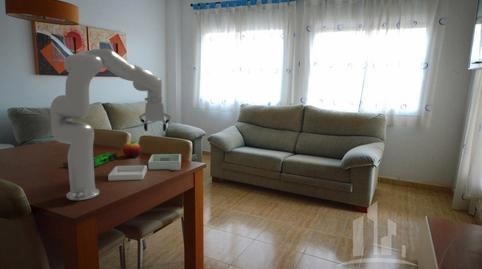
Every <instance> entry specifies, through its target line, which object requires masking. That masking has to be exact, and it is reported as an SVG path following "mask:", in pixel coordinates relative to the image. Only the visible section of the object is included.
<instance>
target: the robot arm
mask: <svg viewBox="0 0 482 269" xmlns="http://www.w3.org/2000/svg"><path fill="white" fill-rule="evenodd" d="M63 65H64V69H65V70H66V72H67V73H68V74H67V77H66V80H65V94H62V95H61V94H60V95H58V96H56V97H55V98H54V99H53V100H52V102H51V103H50V104H51V105H50V122H51V124H50V125H51V134H52V136H53V138H54V140H55V141H57V142H58V143H61V144H67V145H69V149H68V151H67V162H68V167H67V168H68V178H69V188H70V189H69V190H70V191H69V192H67V193H66V199H68V200H70V201H85V200H90V199H93V198H96V197H97V196H99V194H100V190H99V188H96V183H95V182H96V180H95V167H94V161H93V156H94V141H95V131H94V128H93V127H92V126H91V125H90V124H88V123H86V122H82V121H74V119H77V120H81V119H86V118H87V117H88V116H89V114H90V84H91V81H92V79H93V78H94V77H95V76H96V75H97V74H99V73H100V72H101V70H102V69H105V70H108V71H109V72H111V73H112V74H114V75H116V76H117V77H119V78H120V79H123V80H126V81H130V82H132V86H133V87H134V90H137V91H140V92H147V97H145V98H144V101H145V102H146V103H145V108H144V109H145V110H144V113H142V114H140V115H138V119H139V120H140V122H141V123H142V124H143V130H144V131H145V132H147V131H148V122H162V124H163V125H162V131H163V132H165V131H166V130H167V124H168V123H169V122H170V119H171V117H172V116H171V115H169V114H167V113H165V106H164V102H163V101H162V100H163V99H162V98H163V97H162V96H163V95H162V93H163V92H162V90H163V88H162V81H163V80H162V78H161V77H157V76H156V75H155V74H154V73H153V72H151V71H149V70H147V69H145V68H143V67H140V66H137V65H135V64H133V63H131V62H129V60H127V59H125V58H124V57H122V55H120V54H119V53H117V52H116V51H114V50H112V49H110V48H95V49H93V48H92V49H89V50H85V51H80V52H77V53H73V54H70V55H68V56H66V58H65V60H64V63H63ZM165 117H166V118H167V119H166V120H165ZM143 118H144V119H145V120H144V119H143Z"/></svg>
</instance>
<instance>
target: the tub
mask: <svg viewBox="0 0 482 269" xmlns="http://www.w3.org/2000/svg"><path fill="white" fill-rule="evenodd" d="M147 171H148V164H147V165H145V164H144V165H116V166H115V167H114V168H113V169H112V170H111V171H110V172H109V174H107V177H108V181H134V180H135V181H137V180H143V179H144V178H145V176H146V174H147Z"/></svg>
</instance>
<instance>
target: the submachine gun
mask: <svg viewBox="0 0 482 269" xmlns="http://www.w3.org/2000/svg"><path fill="white" fill-rule="evenodd" d="M118 154H119V153H118V152H104V153H102V154H100V155H93V161H94V168H96V167H98V166H101V165H103V164H105V163H108V162H110V161H115V160H116V159H119V157H118V156H117V155H118ZM62 167H63V168H69V167H68V161H67V162H66V161H64V162H62Z"/></svg>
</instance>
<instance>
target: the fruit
mask: <svg viewBox="0 0 482 269" xmlns="http://www.w3.org/2000/svg"><path fill="white" fill-rule="evenodd" d="M122 150H123V155H124V156H125V157H127V158H137V157H139V155H140V154H141V151H142V148H141V145H140V144H139V143H138V140H132V141H130V142H126V143H125V144H124V146H123V149H122Z"/></svg>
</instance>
